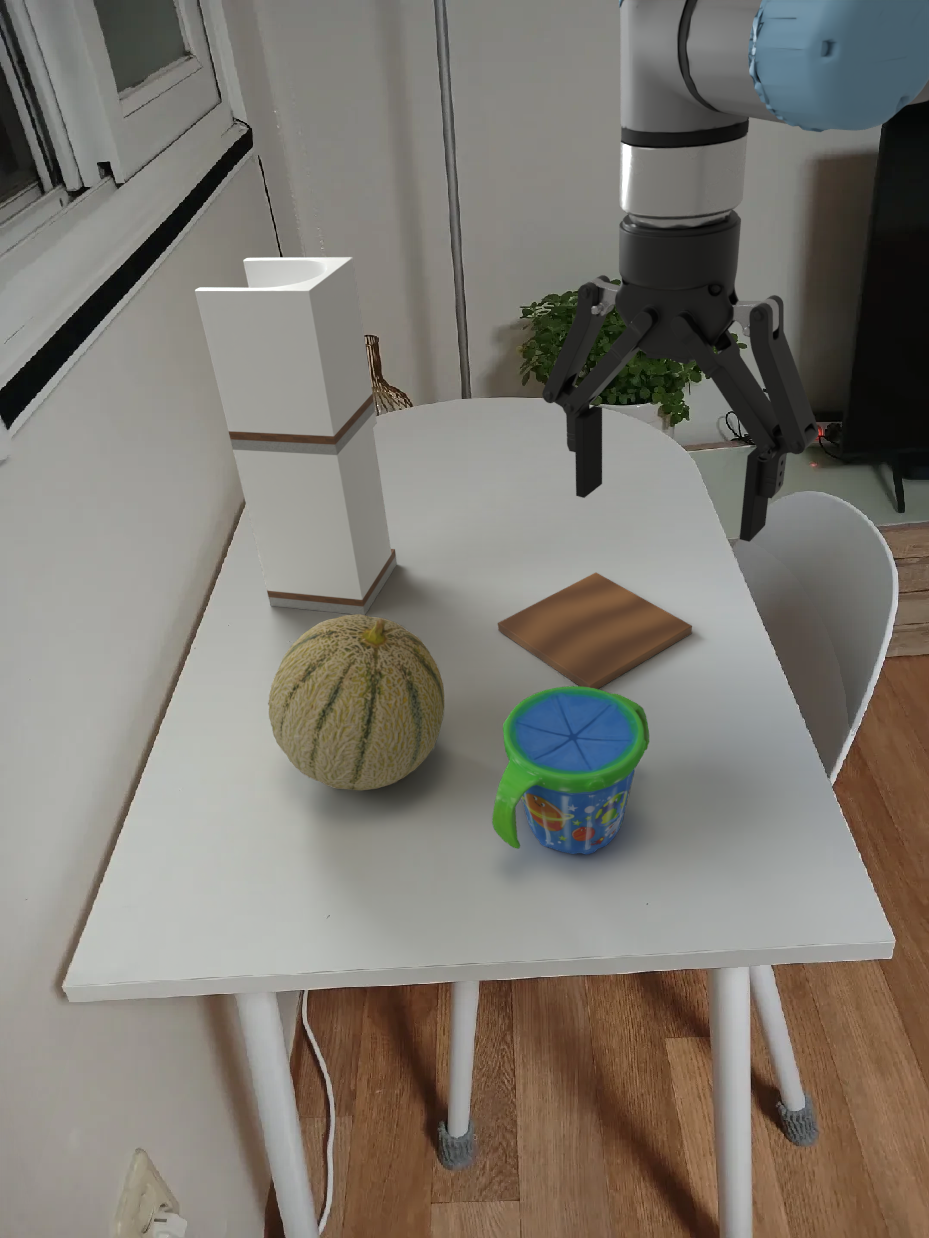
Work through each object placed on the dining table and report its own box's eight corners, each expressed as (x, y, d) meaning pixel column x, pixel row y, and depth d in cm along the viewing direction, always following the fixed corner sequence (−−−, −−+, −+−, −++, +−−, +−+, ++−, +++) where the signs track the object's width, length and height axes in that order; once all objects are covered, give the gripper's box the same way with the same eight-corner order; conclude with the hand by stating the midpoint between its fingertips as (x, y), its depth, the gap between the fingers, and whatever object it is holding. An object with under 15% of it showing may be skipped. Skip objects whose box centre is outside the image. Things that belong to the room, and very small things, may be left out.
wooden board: (691, 633, 96) (692, 625, 96) (590, 693, 90) (590, 685, 90) (595, 579, 106) (595, 571, 105) (497, 630, 100) (497, 622, 99)
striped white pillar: (397, 563, 112) (352, 257, 92) (364, 615, 104) (308, 291, 84) (308, 556, 115) (247, 258, 95) (270, 605, 107) (194, 290, 87)
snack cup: (602, 745, 84) (602, 653, 78) (691, 813, 77) (699, 718, 71) (459, 831, 77) (447, 738, 72) (541, 914, 70) (536, 819, 64)
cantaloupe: (261, 753, 87) (225, 619, 78) (401, 690, 93) (381, 559, 84) (331, 855, 76) (297, 713, 68) (484, 777, 82) (471, 637, 74)
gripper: (905, 211, 55) (850, 528, 68) (546, 188, 69) (555, 456, 81) (860, 244, 51) (810, 578, 63) (485, 212, 64) (503, 493, 76)
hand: (666, 510), depth 72 cm, fingers open, 13 cm apart
